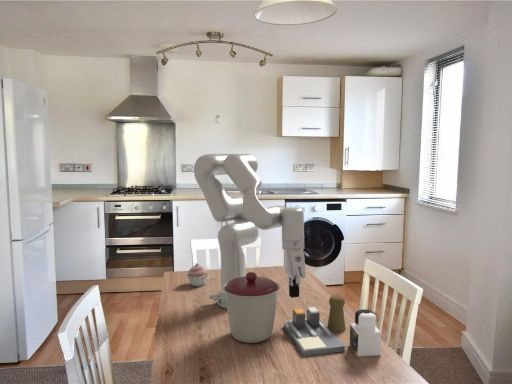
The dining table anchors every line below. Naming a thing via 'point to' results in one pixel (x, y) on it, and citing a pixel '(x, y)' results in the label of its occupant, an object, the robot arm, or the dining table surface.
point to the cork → (336, 314)
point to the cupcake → (197, 275)
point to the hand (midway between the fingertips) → (294, 296)
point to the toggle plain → (313, 317)
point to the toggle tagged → (298, 318)
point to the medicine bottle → (365, 334)
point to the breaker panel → (314, 339)
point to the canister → (251, 307)
